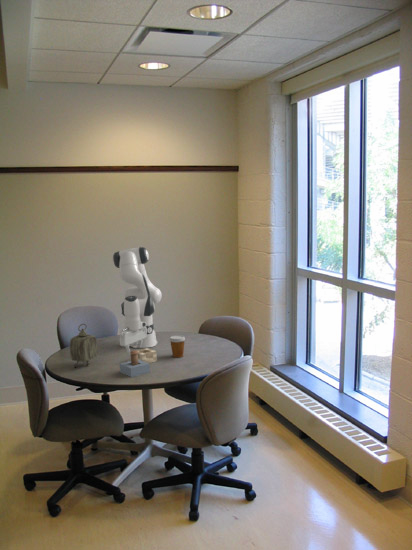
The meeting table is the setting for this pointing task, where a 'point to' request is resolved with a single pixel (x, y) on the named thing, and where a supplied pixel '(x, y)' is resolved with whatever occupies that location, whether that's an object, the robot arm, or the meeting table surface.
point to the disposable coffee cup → (177, 345)
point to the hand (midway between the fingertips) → (134, 349)
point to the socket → (135, 368)
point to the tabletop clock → (83, 347)
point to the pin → (134, 358)
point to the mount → (147, 355)
